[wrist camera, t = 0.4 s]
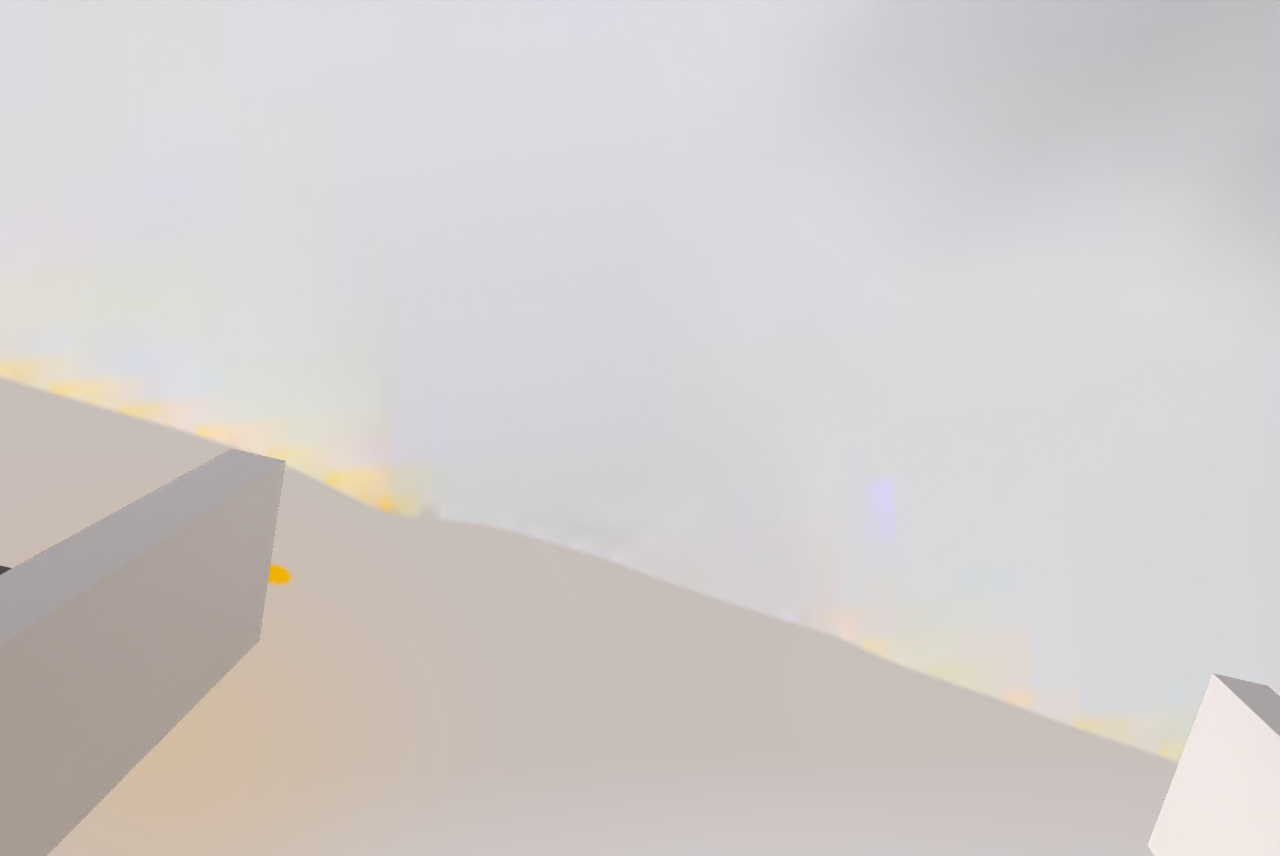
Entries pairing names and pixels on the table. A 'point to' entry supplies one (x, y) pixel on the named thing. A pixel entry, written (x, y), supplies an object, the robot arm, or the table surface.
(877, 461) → the table surface
